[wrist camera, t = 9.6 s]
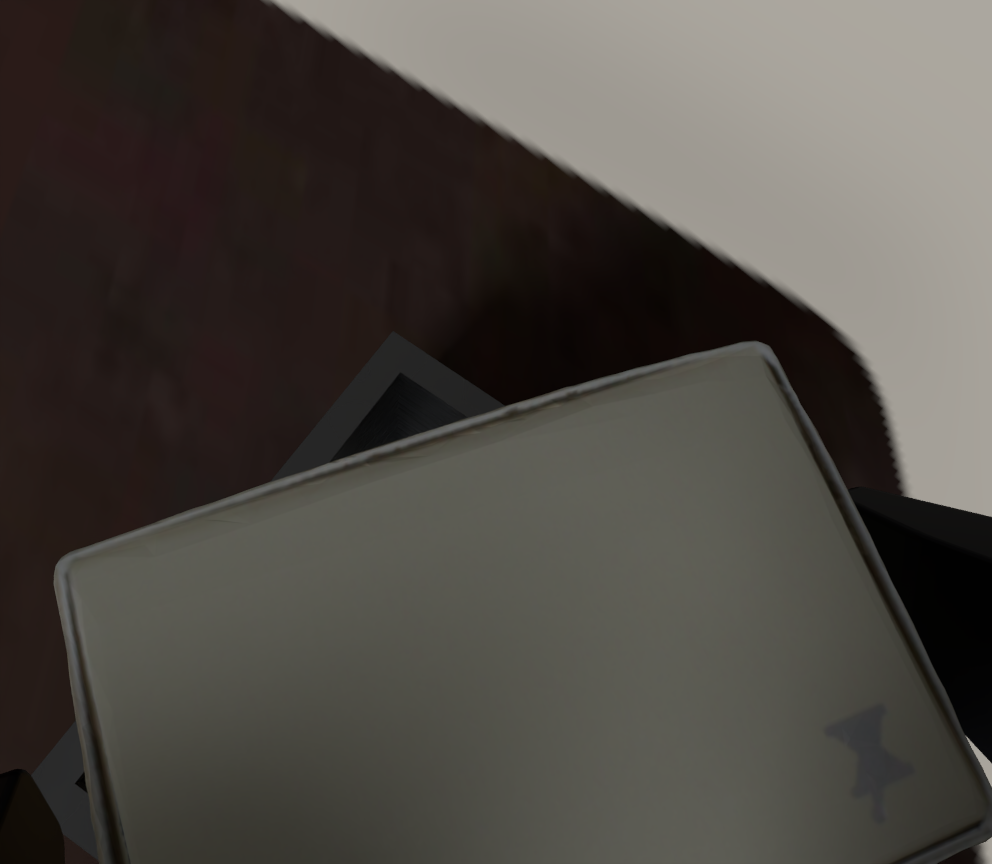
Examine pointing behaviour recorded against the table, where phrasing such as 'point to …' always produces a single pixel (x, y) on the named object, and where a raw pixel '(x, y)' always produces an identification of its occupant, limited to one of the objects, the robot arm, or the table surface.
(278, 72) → the table surface
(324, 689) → the skincare box
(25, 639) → the table surface
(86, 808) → the grey open tray
